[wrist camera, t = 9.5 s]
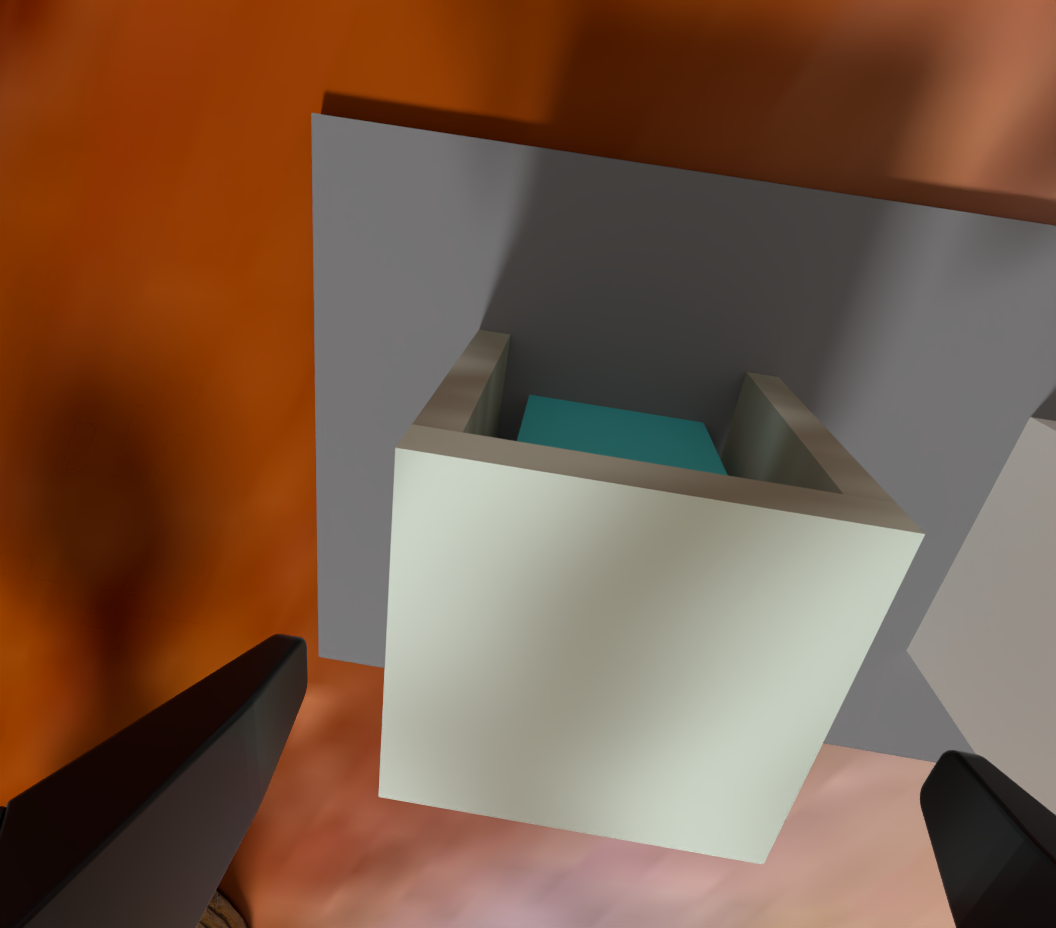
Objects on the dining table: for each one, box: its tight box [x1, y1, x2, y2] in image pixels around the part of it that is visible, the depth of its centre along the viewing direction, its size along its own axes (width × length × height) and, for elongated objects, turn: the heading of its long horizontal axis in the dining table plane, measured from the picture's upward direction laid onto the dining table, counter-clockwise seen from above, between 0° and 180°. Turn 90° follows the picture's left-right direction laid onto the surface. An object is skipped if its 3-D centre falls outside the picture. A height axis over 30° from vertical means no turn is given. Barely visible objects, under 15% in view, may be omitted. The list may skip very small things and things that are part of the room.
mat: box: [311, 113, 1056, 763], centre depth 15 cm, size 26×14×1 cm, turn 82°
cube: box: [517, 395, 727, 475], centre depth 13 cm, size 4×4×4 cm
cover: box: [379, 330, 925, 864], centre depth 12 cm, size 7×7×6 cm
